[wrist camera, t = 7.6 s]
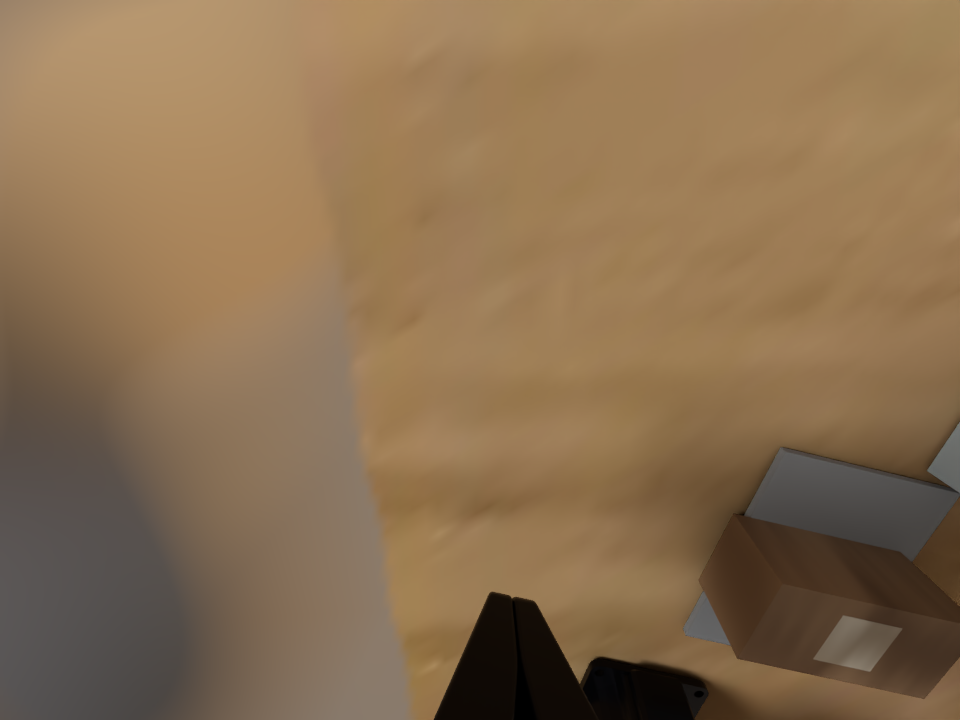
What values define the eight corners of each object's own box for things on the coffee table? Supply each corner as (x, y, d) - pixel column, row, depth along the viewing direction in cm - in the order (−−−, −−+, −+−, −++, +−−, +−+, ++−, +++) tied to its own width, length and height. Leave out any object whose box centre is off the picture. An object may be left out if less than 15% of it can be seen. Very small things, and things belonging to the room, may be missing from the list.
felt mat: (829, 660, 25) (834, 668, 24) (682, 628, 24) (685, 635, 24) (953, 488, 21) (961, 493, 21) (780, 446, 21) (786, 451, 20)
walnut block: (698, 580, 23) (856, 615, 23) (737, 658, 19) (924, 699, 19) (733, 513, 21) (900, 551, 22) (782, 584, 18) (983, 628, 18)
